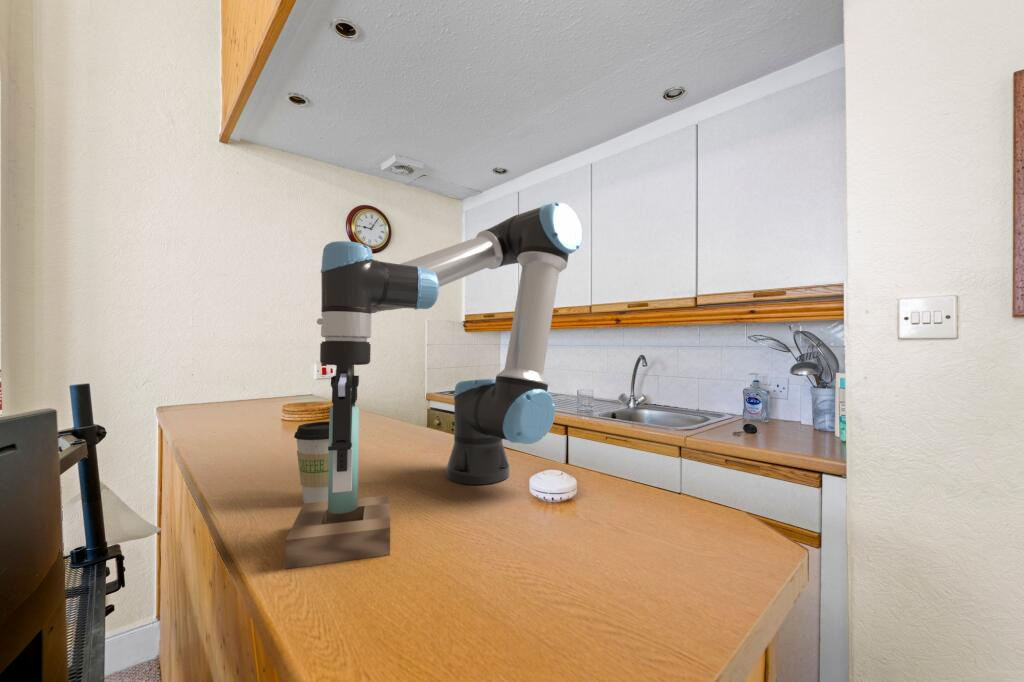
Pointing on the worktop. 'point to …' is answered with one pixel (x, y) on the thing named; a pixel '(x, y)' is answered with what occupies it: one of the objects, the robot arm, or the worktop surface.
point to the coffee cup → (313, 460)
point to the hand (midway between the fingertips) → (343, 485)
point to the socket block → (339, 533)
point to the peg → (349, 499)
